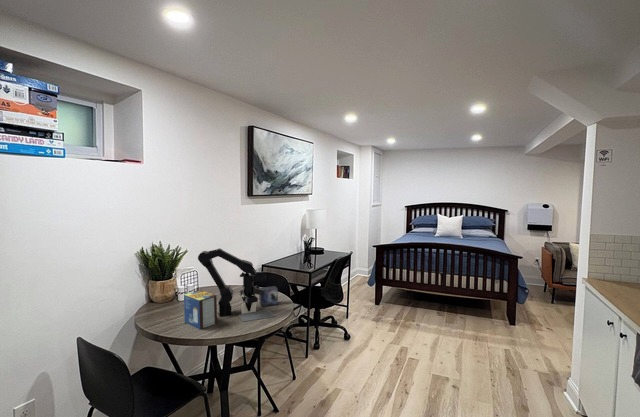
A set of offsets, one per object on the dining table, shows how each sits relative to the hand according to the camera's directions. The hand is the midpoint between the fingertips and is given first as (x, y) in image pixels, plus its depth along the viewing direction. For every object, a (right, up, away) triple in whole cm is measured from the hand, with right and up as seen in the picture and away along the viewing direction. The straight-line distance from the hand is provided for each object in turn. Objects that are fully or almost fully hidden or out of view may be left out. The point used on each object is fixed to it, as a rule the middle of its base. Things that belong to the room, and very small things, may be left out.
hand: (248, 310), depth 197 cm
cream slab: (0, -1, 0) cm, 1 cm away
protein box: (-22, -3, -15) cm, 27 cm away
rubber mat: (+6, -2, -5) cm, 8 cm away
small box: (+9, -1, +15) cm, 18 cm away
